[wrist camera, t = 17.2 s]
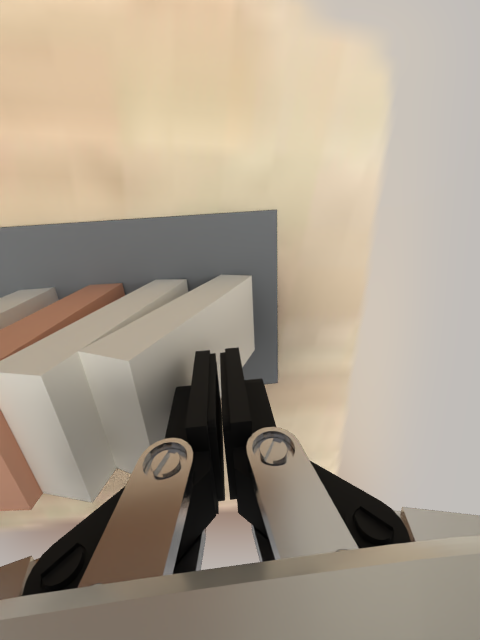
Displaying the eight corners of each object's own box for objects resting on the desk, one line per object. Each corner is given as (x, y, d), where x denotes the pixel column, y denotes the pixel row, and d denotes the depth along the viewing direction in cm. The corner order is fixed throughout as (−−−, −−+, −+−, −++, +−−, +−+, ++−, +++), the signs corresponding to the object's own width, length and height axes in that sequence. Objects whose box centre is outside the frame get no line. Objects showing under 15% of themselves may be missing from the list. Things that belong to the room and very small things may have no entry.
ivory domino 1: (186, 279, 16) (40, 375, 7) (196, 352, 18) (92, 502, 9) (155, 279, 16) (-19, 370, 7) (168, 351, 18) (42, 493, 9)
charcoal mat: (276, 379, 20) (277, 382, 20) (-12, 408, 19) (-17, 412, 19) (275, 209, 16) (276, 209, 15) (-105, 234, 15) (-113, 235, 14)
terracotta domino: (122, 283, 16) (-39, 383, 7) (139, 355, 18) (31, 509, 9) (89, 284, 16) (-113, 386, 7) (109, 356, 18) (-29, 511, 9)
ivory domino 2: (251, 275, 16) (128, 361, 7) (254, 349, 18) (159, 484, 9) (221, 274, 17) (78, 350, 8) (227, 345, 19) (116, 467, 10)
